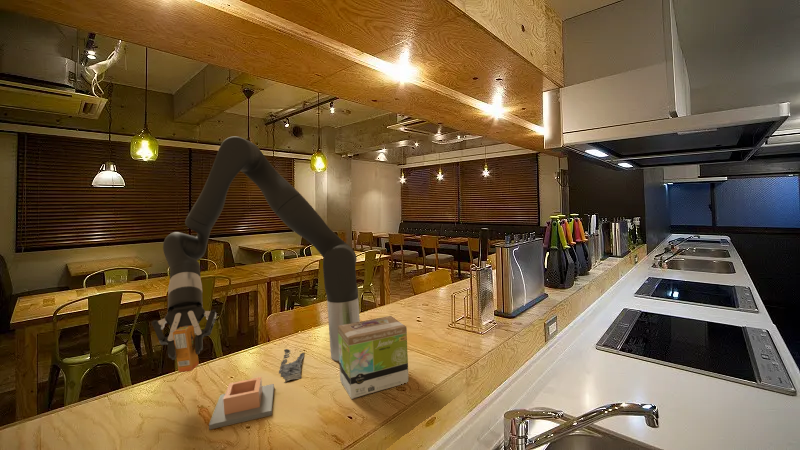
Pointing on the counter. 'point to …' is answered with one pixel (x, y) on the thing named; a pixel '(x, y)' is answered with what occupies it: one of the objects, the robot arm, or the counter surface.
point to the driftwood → (291, 367)
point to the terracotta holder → (243, 395)
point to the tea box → (372, 355)
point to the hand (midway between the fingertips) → (185, 355)
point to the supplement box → (185, 348)
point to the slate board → (264, 410)
